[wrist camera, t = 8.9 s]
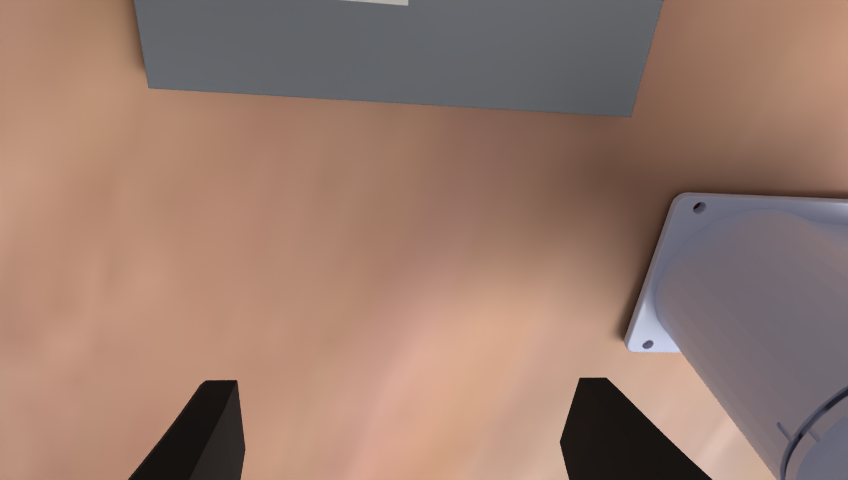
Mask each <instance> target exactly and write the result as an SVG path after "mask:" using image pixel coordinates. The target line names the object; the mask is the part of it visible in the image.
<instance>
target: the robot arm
mask: <svg viewBox="0 0 848 480" xmlns="http://www.w3.org/2000/svg"><path fill="white" fill-rule="evenodd" d="M699 202H701V204H700V205H699V207H698V208H696V209H693V207H694V206H695V205H696V204H697V203H699ZM645 341H647V342H646V343H644V342H645ZM624 344H625V346H626V348H627V349H628V350H629V351H630V352H682V354H683V355H684V356H685V358H686V359H687V360H688V362H689V363H690V364H691V366H692V367H693V368H694V370H695V371H696V372H697V374H698V375H699V376H700V378H701V379H702V380H703V382H704V383H705V384H706V386H707V387H708V388H709V390H710V391H711V392H712V394H713V395H714V396H715V398H716V399H717V400H718V402H719V403H720V404H721V406H722V407H723V408H724V410H725V411H726V412H727V414H728V415H729V416H730V418H731V419H732V420H733V422H734V423H735V424H736V426H737V427H738V428H739V430H740V431H741V432H742V434H743V435H744V436H745V438H746V439H747V440H748V442H749V443H750V445H751V446H752V447H753V449H754V450H755V451H756V453H757V454H758V455H759V457H760V458H761V459H762V461H763V462H764V463H765V465H766V466H767V467H768V469H769V470H770V471H771V473H772V474H773V475H774V477H775V478H776V479H777V480H848V199H834V198H811V197H787V196H763V195H739V194H715V193H692V192H686V193H682V194H680V195H678V196H677V197H676V198H674V200H673V202H672V204H671V206H670V209H669V212H668V215H667V218H666V221H665V224H664V227H663V229H662V232H661V235H660V238H659V241H658V244H657V247H656V250H655V252H654V255H653V258H652V261H651V264H650V267H649V270H648V273H647V275H646V278H645V281H644V284H643V287H642V290H641V293H640V296H639V298H638V301H637V304H636V307H635V310H634V313H633V316H632V319H631V321H630V324H629V327H628V330H627V333H626V336H625V339H624ZM560 445H561V449H562V453H563V457H564V461H565V466H566V469H567V473H568V477H569V480H712V479H711V478H710V477H709V476H708V475H707V474H706V473H704V472H703V471H702V470H701V469H700V468H699V467H698V466H697V465H696V464H695V463H693V462H692V461H691V460H690V459H689V458H688V457H687V456H686V455H685V454H684V453H683V452H682V451H681V450H680V449H679V448H678V447H677V446H675V445H674V444H673V443H672V442H671V441H670V440H669V439H668V438H667V437H666V436H665V435H664V434H663V433H662V432H661V431H660V430H659V429H658V428H657V427H656V426H655V425H654V424H653V423H652V422H651V421H650V420H649V419H648V418H647V417H646V416H645V415H644V414H643V413H642V412H641V411H640V410H639V409H638V408H637V407H636V406H635V405H634V404H633V403H632V402H631V401H630V400H629V399H628V398H627V397H626V396H625V395H624V394H623V393H622V392H621V391H620V390H619V389H618V388H617V387H616V386H615V385H614V384H612V383H611V382H610V381H609V380H608V379H607V378H579V382H578V385H577V388H576V391H575V395H574V398H573V401H572V404H571V407H570V411H569V414H568V417H567V420H566V424H565V427H564V430H563V433H562V437H561V440H560ZM244 454H245V442H244V434H243V425H242V417H241V408H240V400H239V391H238V383H237V380H206V381H204V382H203V383H202V384H201V385H200V386H199V388H198V389H197V390H196V392H195V393H194V395H193V396H192V398H191V399H190V400H189V402H188V403H187V405H186V406H185V407H184V409H183V410H182V412H181V413H180V414H179V416H178V417H177V418H176V420H175V421H174V422H173V424H172V425H171V426H170V428H169V429H168V430H167V432H166V433H165V434H164V436H163V437H162V438H161V439H160V441H159V442H158V443H157V444H156V446H155V447H154V448H153V449H152V451H151V452H150V453H149V454H148V456H147V457H146V458H145V459H144V461H143V462H142V463H141V464H140V466H139V467H138V468H137V469H136V471H135V472H134V473H133V474H132V475H131V477H130V478H129V479H128V480H240V479H241V473H242V467H243V461H244Z"/></svg>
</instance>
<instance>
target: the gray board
mask: <svg viewBox="0 0 848 480" xmlns="http://www.w3.org/2000/svg"><path fill="white" fill-rule="evenodd" d="M662 3H663V0H134V5H135V11H136V17H137V23H138V28H139V34H140V40H141V46H142V52H143V58H144V64H145V70H146V76H147V82H148V88H153V89H170V90H187V91H203V92H220V93H237V94H254V95H270V96H287V97H304V98H321V99H337V100H354V101H371V102H388V103H404V104H421V105H438V106H455V107H471V108H488V109H505V110H522V111H538V112H555V113H572V114H588V115H605V116H622V117H631V114H632V110H633V106H634V103H635V99H636V96H637V92H638V89H639V85H640V81H641V78H642V74H643V71H644V67H645V64H646V60H647V57H648V53H649V49H650V46H651V42H652V39H653V35H654V32H655V28H656V25H657V21H658V17H659V14H660V10H661V7H662Z"/></svg>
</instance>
